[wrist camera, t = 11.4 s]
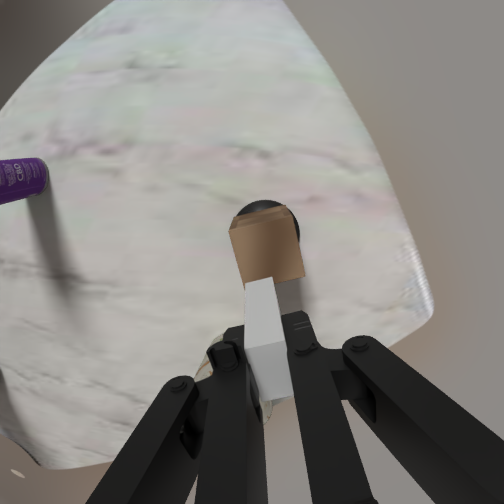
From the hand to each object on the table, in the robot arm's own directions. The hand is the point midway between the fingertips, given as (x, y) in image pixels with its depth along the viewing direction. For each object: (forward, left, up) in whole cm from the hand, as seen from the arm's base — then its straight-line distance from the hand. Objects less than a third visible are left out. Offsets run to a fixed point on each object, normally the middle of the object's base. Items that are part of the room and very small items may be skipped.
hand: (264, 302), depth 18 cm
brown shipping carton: (+1, 0, -16) cm, 16 cm away
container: (-24, +14, -17) cm, 33 cm away
